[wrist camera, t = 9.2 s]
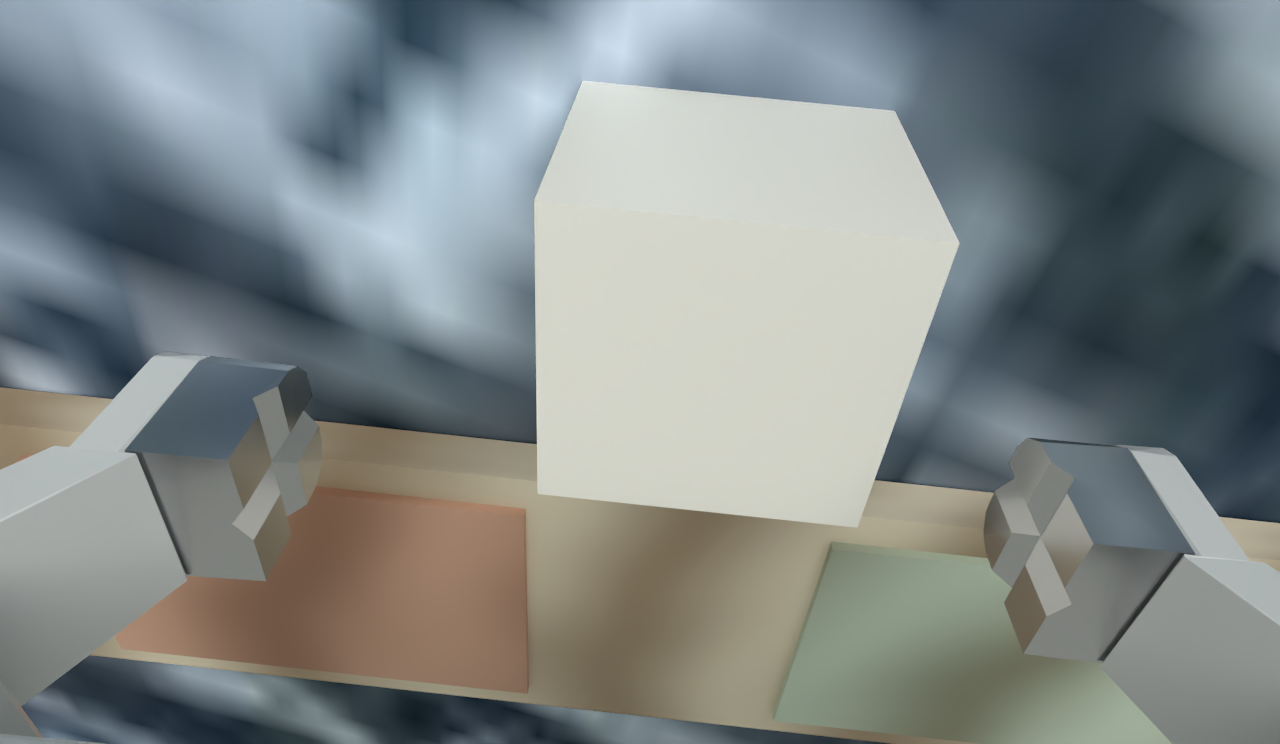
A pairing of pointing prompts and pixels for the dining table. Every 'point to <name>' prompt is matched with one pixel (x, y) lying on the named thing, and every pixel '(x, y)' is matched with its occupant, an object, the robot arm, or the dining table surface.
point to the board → (626, 600)
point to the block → (729, 301)
